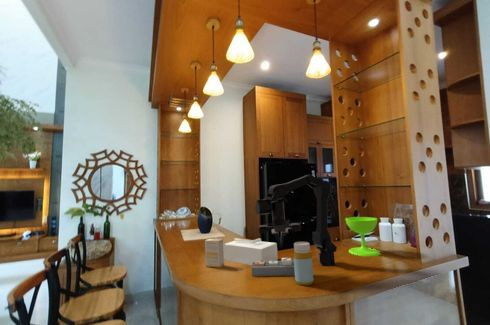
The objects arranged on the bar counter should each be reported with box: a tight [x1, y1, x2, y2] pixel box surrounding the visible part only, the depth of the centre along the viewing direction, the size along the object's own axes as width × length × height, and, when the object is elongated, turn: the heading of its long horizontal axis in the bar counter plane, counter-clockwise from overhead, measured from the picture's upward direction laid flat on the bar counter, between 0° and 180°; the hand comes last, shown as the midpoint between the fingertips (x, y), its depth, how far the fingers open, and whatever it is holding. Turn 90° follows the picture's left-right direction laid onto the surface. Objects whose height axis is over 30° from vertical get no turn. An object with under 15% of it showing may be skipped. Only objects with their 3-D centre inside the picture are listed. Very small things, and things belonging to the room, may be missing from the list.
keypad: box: [251, 260, 295, 277], centre depth 109 cm, size 19×9×4 cm, turn 85°
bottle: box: [293, 241, 314, 287], centre depth 97 cm, size 7×7×15 cm
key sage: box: [269, 260, 279, 266], centre depth 110 cm, size 4×4×2 cm
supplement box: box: [204, 238, 225, 269], centre depth 123 cm, size 8×5×13 cm, turn 65°
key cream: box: [281, 257, 292, 265], centre depth 109 cm, size 4×4×2 cm
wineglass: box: [345, 216, 382, 258], centre depth 134 cm, size 16×16×18 cm
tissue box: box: [223, 237, 279, 266], centre depth 131 cm, size 14×25×11 cm, turn 52°
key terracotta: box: [255, 261, 265, 266], centre depth 110 cm, size 4×4×2 cm
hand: (281, 247), depth 110 cm, fingers closed
